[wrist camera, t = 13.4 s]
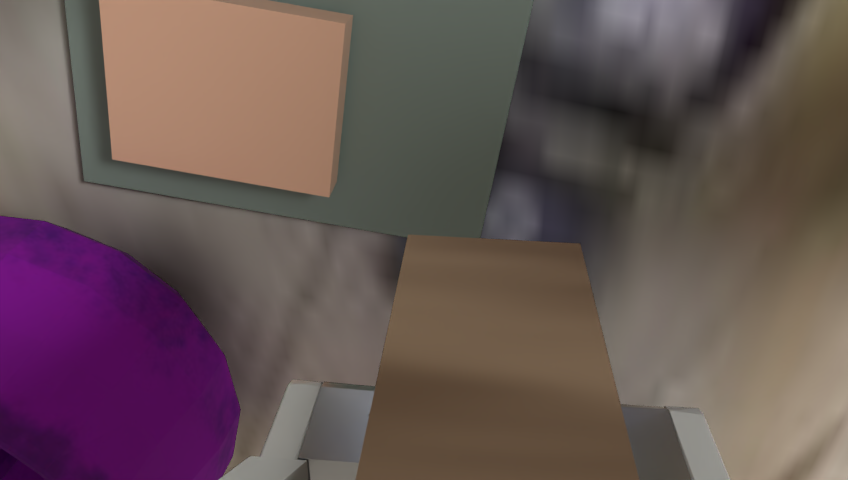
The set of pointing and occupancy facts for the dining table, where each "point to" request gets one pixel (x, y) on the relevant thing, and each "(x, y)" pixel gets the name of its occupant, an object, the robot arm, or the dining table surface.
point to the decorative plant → (103, 367)
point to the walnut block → (494, 369)
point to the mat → (362, 118)
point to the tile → (228, 89)
